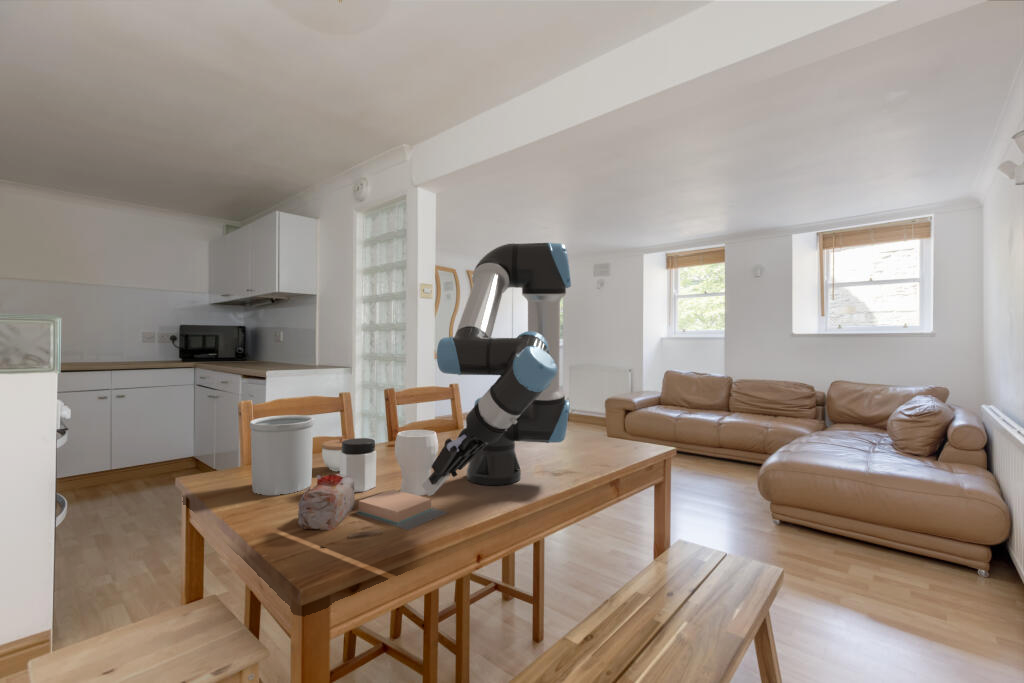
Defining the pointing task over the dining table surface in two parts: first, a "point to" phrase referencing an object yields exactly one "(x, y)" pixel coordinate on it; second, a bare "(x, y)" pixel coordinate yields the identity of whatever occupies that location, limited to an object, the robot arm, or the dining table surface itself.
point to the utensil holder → (281, 454)
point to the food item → (327, 502)
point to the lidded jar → (332, 453)
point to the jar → (359, 462)
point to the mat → (413, 521)
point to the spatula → (363, 534)
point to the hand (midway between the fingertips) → (427, 489)
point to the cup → (415, 458)
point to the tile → (394, 506)
